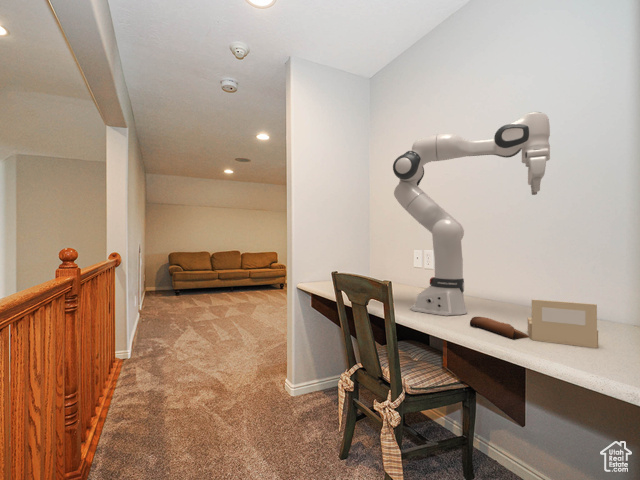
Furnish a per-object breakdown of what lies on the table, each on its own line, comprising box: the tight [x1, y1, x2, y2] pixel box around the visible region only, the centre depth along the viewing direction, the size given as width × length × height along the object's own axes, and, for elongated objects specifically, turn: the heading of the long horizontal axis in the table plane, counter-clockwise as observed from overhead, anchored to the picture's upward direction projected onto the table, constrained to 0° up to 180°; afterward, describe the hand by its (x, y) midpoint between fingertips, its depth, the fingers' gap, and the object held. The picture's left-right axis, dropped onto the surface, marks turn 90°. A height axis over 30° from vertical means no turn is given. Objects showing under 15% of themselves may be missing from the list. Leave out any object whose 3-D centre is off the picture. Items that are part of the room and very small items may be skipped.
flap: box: [531, 298, 598, 349], centre depth 93 cm, size 15×1×12 cm, turn 60°
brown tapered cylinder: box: [469, 316, 529, 341], centre depth 106 cm, size 18×7×7 cm
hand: (535, 193), depth 121 cm, fingers open, 8 cm apart
